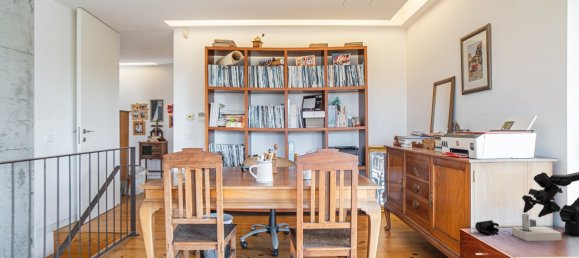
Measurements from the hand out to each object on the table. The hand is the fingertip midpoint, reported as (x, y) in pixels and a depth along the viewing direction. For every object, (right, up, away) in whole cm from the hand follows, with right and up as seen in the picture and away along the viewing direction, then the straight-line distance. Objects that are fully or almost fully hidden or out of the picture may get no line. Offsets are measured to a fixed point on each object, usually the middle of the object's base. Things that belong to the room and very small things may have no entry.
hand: (531, 214), depth 169 cm
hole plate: (+2, -12, -1) cm, 13 cm away
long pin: (-3, -12, -1) cm, 13 cm away
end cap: (-18, -13, +9) cm, 24 cm away
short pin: (+7, -12, +8) cm, 16 cm away
